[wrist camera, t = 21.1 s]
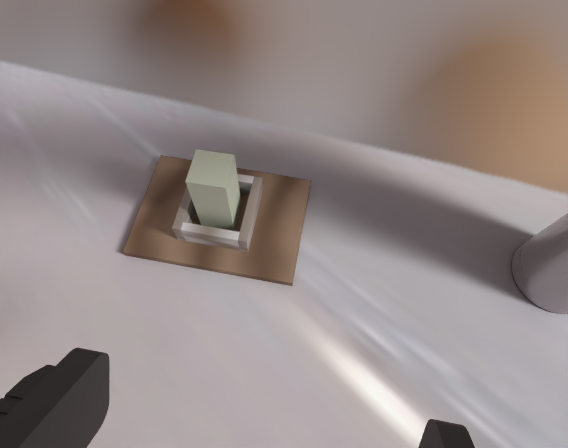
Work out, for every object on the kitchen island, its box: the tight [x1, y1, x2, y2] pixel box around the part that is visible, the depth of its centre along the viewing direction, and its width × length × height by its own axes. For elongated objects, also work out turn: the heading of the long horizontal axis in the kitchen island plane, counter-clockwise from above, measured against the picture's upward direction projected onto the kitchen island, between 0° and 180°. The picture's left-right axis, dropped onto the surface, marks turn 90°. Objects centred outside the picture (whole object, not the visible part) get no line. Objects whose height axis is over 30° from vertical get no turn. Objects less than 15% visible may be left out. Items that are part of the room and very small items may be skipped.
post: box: [185, 149, 241, 231], centre depth 43 cm, size 4×4×10 cm
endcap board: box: [123, 155, 311, 286], centre depth 47 cm, size 20×14×4 cm
